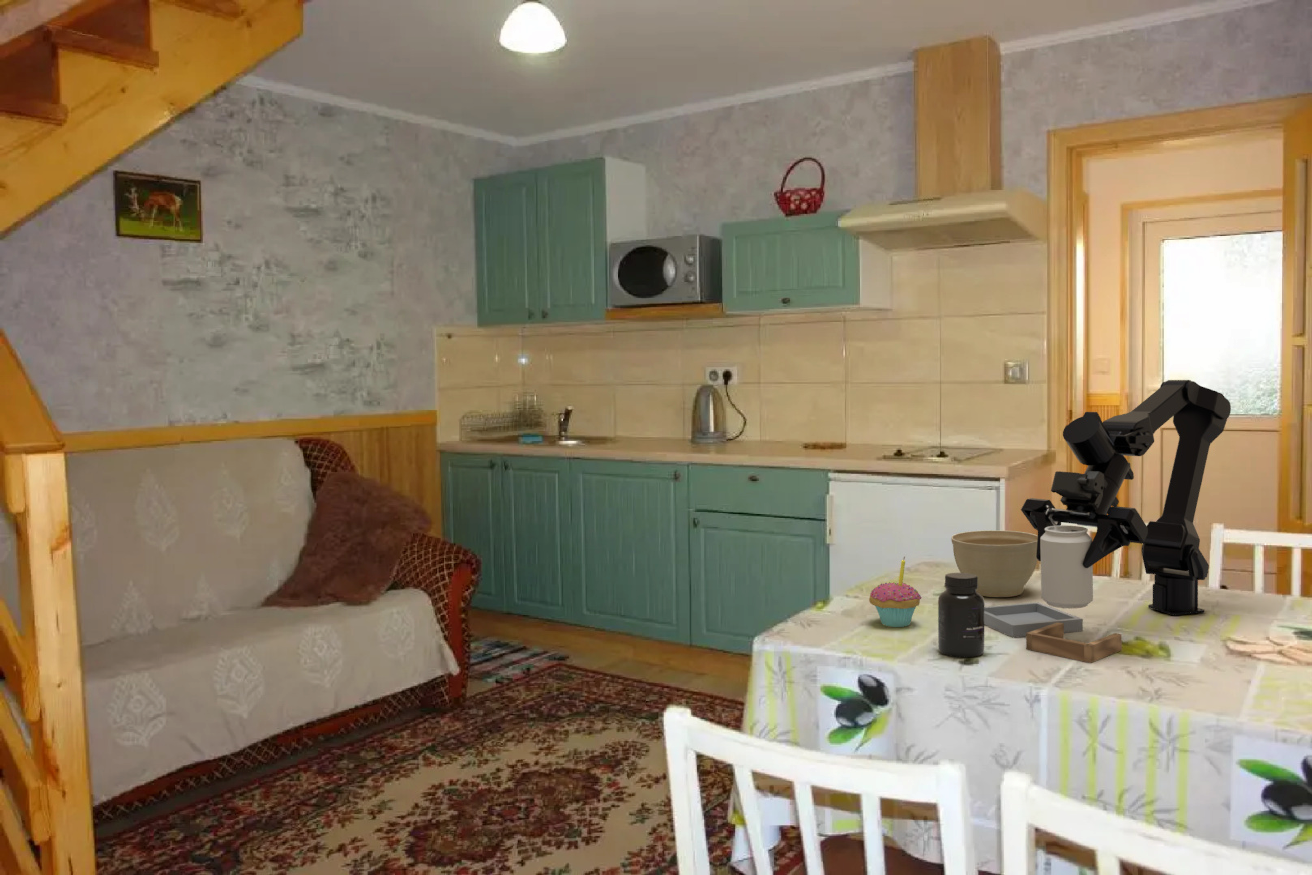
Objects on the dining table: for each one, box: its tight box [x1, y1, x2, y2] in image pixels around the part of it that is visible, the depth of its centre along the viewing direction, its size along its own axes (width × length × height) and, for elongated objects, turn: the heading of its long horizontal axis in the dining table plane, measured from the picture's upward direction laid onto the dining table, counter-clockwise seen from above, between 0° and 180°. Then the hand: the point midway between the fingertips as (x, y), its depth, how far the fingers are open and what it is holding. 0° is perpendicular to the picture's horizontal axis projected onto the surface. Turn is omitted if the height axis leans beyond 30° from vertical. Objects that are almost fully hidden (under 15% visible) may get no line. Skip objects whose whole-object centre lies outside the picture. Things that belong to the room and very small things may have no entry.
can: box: [1040, 524, 1094, 610], centre depth 159 cm, size 8×8×12 cm
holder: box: [1025, 622, 1123, 664], centre depth 157 cm, size 9×10×2 cm
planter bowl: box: [950, 529, 1038, 598], centre depth 196 cm, size 16×16×11 cm
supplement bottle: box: [937, 572, 985, 658], centre depth 157 cm, size 7×7×12 cm
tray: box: [984, 601, 1084, 638], centre depth 172 cm, size 13×13×2 cm
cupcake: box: [868, 555, 922, 628], centre depth 175 cm, size 9×8×12 cm
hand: (1061, 562), depth 158 cm, fingers closed on can, 7 cm apart
